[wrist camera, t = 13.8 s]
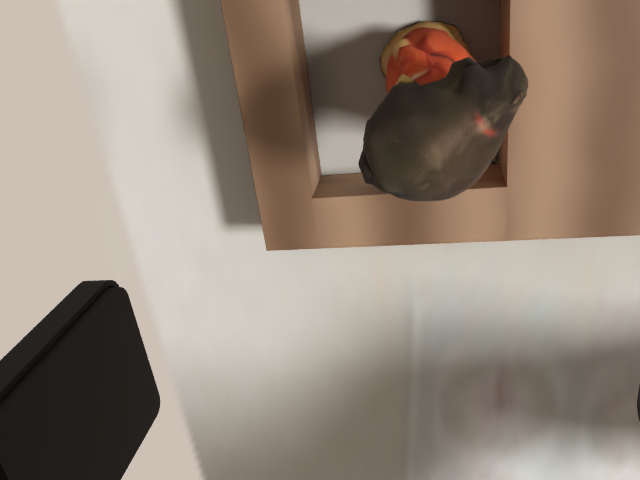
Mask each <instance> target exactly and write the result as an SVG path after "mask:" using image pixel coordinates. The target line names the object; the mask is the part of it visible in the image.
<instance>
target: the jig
mask: <svg viewBox="0 0 640 480" xmlns="http://www.w3.org/2000/svg"><path fill="white" fill-rule="evenodd" d="M221 6H222V11H223V17H224V22H225V27H226V33H227V38H228V44H229V49H230V55H231V60H232V65H233V71H234V76H235V82H236V87H237V92H238V98H239V103H240V109H241V114H242V119H243V125H244V130H245V136H246V141H247V147H248V152H249V157H250V163H251V168H252V174H253V179H254V184H255V190H256V195H257V201H258V206H259V212H260V217H261V222H262V228H263V233H264V239H265V244H266V249H267V251H270V250H294V249H318V248H342V247H366V246H390V245H414V244H438V243H462V242H486V241H510V240H534V239H558V238H582V237H606V236H630V235H640V0H500V59H503V58H505V57H507V56H508V55H510V56H511V57H512V58H513V59H514V60H516V61H517V62H518V63H519V64H520V65H521V67H522V68H523V70H524V73H525V75H526V76H527V78H528V89H527V92H526V93H527V95H526V97H525V98H524V99H523V102H522V104H521V105H520V106H519V108H518V110H517V112H516V114H515V116H514V118H513V120H512V122H511V124H510V127H509V129H508V131H507V133H506V135H505V138H504V140H503V142H502V144H501V146H500V148H499V161H498V164H492V165H489V167H488V168H487V170H486V171H485V172H484V174H483V175H482V176H481V178H480V179H479V180H478V181H477V182H476V183H475V184H474V185H473V186H471V187H470V188H469V189H467V190H465V191H464V192H462V193H460V194H458V195H457V196H455V197H452V198H450V199H446V200H442V201H410V200H405V199H402V198H397V197H395V196H393V195H391V194H389V193H385V192H383V191H381V190H379V189H377V188H376V187H375V186H373V185H372V184H367V183H365V181H364V178H363V175H362V173H356V174H341V175H326V176H321V168H320V161H319V153H318V145H317V138H316V130H315V122H314V115H313V107H312V99H311V92H310V84H309V76H308V68H307V61H306V53H305V45H304V38H303V30H302V22H301V15H300V7H299V0H221Z"/></svg>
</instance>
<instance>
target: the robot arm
mask: <svg viewBox="0 0 640 480" xmlns="http://www.w3.org/2000/svg"><path fill="white" fill-rule="evenodd" d="M159 408H160V396H159V392H158V389H157V386H156V383H155V380H154V376H153V373H152V370H151V367H150V364H149V361H148V357H147V354H146V351H145V348H144V344H143V341H142V338H141V335H140V332H139V328H138V325H137V322H136V319H135V315H134V312H133V309H132V306H131V303H130V299H129V296H128V294H127V291H126V290H125V289H124V288H122V287H119V285H118V284H117V283H116V282H115V281H113V280H101V281H83V282H81V283H80V284H79V285H78V286H77V287H76V288H75V289H73V290H72V292H70V293H69V294H68V295H67V296H66V297H65V298H64V299H63V300H62V301H61V302H60V303H59V304H58V305H57V306H56V307H55V308H54V309H53V310H52V311H51V312H50V313H49V314H48V315H47V316H46V317H45V318H44V319H43V320H42V321H41V322H40V323H38V324H37V325H36V327H34V328H33V330H31V331H30V332H29V333H28V334H27V335H26V336H25V337H24V338H23V339H22V340H21V341H20V342H19V343H18V344H17V345H16V346H15V347H14V348H13V349H12V350H11V351H10V352H9V353H8V354H7V355H6V356H4V357H3V359H1V361H0V480H121V478H122V476H123V475H124V473H125V471H126V469H127V468H128V466H129V464H130V462H131V460H132V459H133V457H134V455H135V454H136V452H137V450H138V448H139V446H140V445H141V443H142V441H143V440H144V438H145V436H146V434H147V433H148V431H149V429H150V427H151V426H152V424H153V422H154V420H155V418H156V417H157V414H158V412H159ZM637 410H638V416H639V420H640V386H639V393H638V400H637Z"/></svg>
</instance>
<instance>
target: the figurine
mask: <svg viewBox="0 0 640 480" xmlns="http://www.w3.org/2000/svg"><path fill="white" fill-rule="evenodd" d="M380 67H381V71H382V73H383V75H384V77H385V79H386V90H387V93H388V95H387V96H386V98H385V99H384V100H383V102H382V103H381V104H380V105H379V107H378V108H377V110H376V111H375V113H374V114H373V116H372V117H371V118H370V119H369V120H368V121H367V123H366V128H365V134H364V138H363V141H364V144H363V151H362V153H361V157H360V160H359V163H358V164H359V167H360V170H361V172H362V175H363V178H364V181H365V183H367V184H372V185H373V186H375V187H376V188H377V189H379V190H381V191H383V192H385V193H389V194H391V195H393V196H395V197H397V198H402V199H405V200H410V201H442V200H446V199H450V198H452V197H455V196H457V195H458V194H460V193H462V192H464V191H465V190H467V189H469V188H470V187H471V186H473V185H474V184H475V183H476V182H477V181H478V180H479V179H480V178H481V176H482V175H483V174H484V172H485V171H486V170H487V168H488V167H489V165H490V163H491V162H492V160H493V159H494V158H495V156H496V154H497V152H498V150H499V148H500V146H501V144H502V142H503V140H504V138H505V135H506V133H507V131H508V129H509V127H510V124H511V122H512V120H513V118H514V116H515V114H516V112H517V110H518V108H519V106H520V105H521V104H522V102H523V99H524V98H525V97H526V95H527V93H526V92H527V89H528V78H527V76H526V75H525V73H524V70H523V68H522V67H521V65H520V64H519V63H518V62H517V61H516V60H514V59H513V58H512V57H511V56H510V55H508V56H507V57H505V58H503V59H498V60H493V61H487V62H484V63H481V64H478V63H477V61H476V60H474V58H473V56H472V54H471V52H470V50H469V47H468V44H467V42H466V41H464V39H463V38H462V36H461V34H460V32H459V30H458V29H457V28H456V27H455V26H454V25H450V24H445V23H442V22H440V21H439V22H431V21H423V22H420V23H417V24H414V25H412V26H410V27H407V28H405V29H402V30H401V31H399V32H398V33H397V34H396V35H395V36H394V37H393V38H392V39H391V40H390V42H389V43H388V44H387V45H385V47H384V49H383V52H382V54H381V56H380Z"/></svg>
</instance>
